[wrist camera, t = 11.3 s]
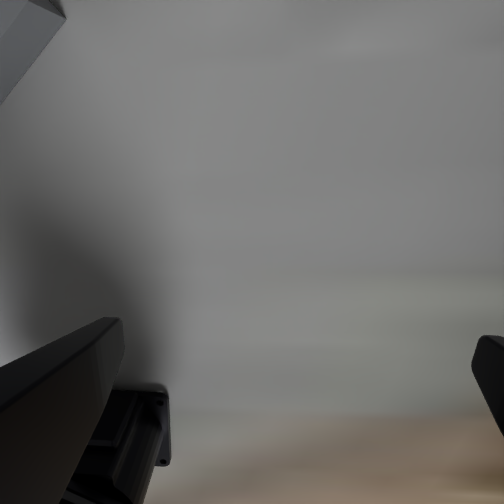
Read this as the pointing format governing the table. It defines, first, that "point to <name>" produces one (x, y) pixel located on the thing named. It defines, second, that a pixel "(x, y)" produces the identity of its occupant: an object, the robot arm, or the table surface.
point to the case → (24, 37)
